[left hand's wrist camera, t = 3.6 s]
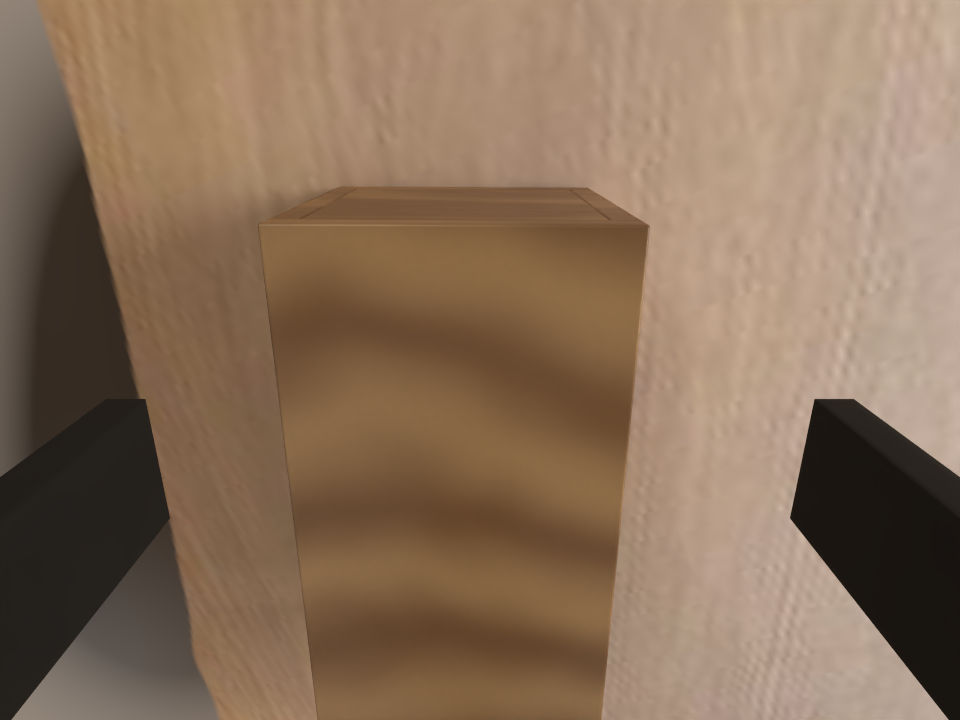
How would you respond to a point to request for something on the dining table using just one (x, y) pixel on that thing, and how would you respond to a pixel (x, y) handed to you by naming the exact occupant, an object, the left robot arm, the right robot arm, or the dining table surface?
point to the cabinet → (456, 442)
